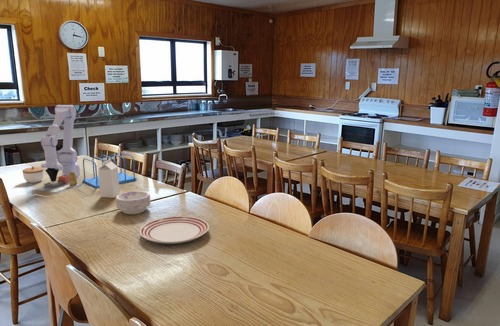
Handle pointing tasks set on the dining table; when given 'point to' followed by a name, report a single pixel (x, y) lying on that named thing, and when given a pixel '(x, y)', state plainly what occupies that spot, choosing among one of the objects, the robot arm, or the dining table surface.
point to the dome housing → (53, 184)
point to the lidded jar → (33, 174)
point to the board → (60, 188)
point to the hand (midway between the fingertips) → (53, 181)
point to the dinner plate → (174, 229)
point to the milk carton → (108, 179)
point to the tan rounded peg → (72, 178)
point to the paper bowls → (133, 202)
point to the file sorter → (121, 176)
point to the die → (64, 179)
